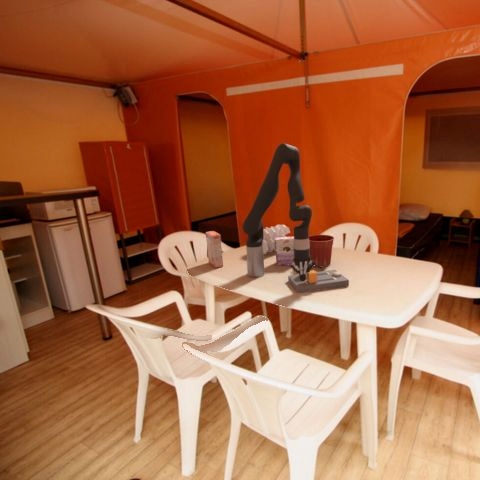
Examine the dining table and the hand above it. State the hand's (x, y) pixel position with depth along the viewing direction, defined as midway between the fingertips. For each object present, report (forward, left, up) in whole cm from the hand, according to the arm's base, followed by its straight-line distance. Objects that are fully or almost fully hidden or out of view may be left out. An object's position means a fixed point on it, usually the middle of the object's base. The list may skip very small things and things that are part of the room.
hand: (302, 280), depth 161 cm
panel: (+9, +4, -4) cm, 11 cm away
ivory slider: (+3, +8, -1) cm, 9 cm away
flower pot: (+22, +32, -4) cm, 39 cm away
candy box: (+4, +40, -4) cm, 41 cm away
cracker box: (-39, +55, -4) cm, 68 cm away
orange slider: (+5, 0, -1) cm, 5 cm away
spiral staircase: (+1, +69, -4) cm, 69 cm away
